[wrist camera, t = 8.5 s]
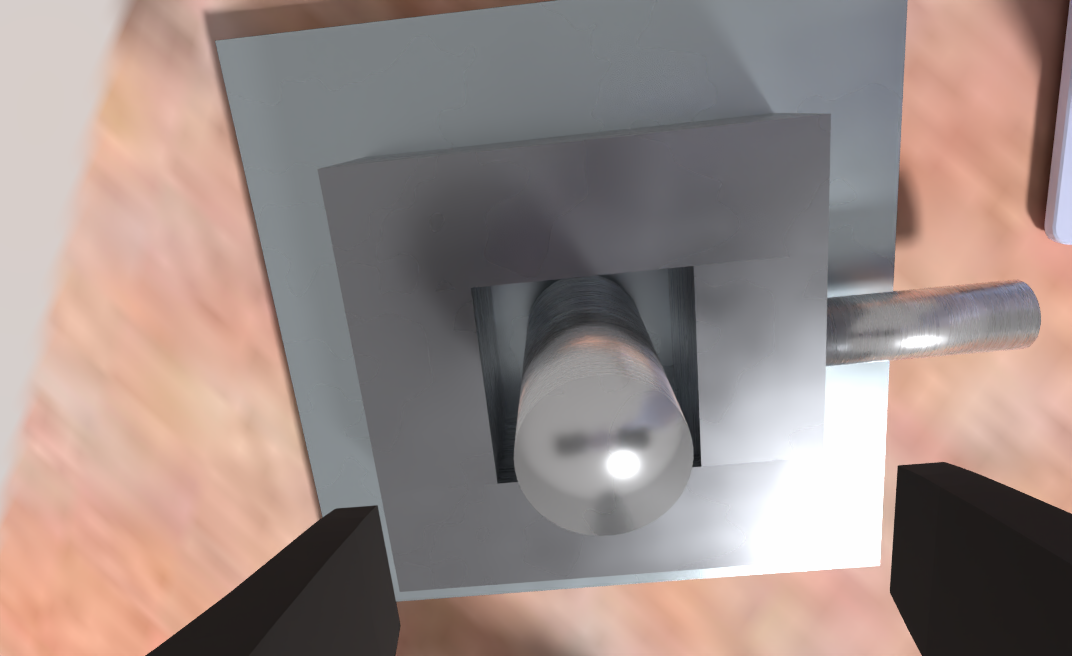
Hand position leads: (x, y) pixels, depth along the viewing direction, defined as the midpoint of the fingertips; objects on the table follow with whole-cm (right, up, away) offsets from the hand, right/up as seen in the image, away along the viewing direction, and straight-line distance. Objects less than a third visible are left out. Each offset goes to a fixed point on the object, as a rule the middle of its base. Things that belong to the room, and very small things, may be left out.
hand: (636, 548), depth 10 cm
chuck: (0, +3, +9) cm, 10 cm away
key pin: (0, +3, +9) cm, 9 cm away
